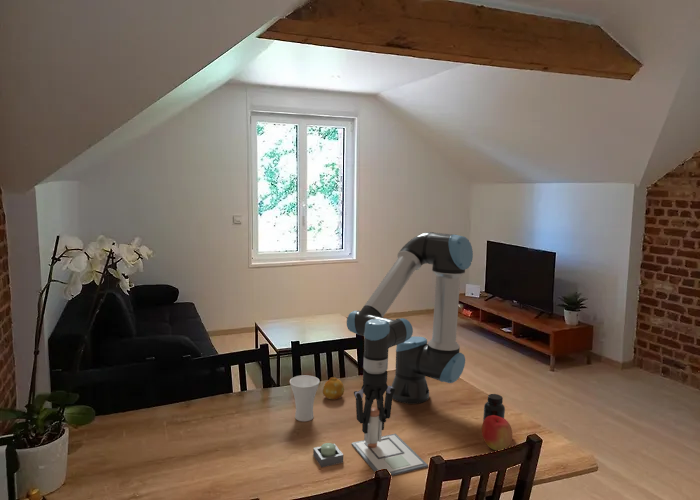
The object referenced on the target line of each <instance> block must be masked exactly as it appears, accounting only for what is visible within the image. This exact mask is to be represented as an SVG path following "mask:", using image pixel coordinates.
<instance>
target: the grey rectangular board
mask: <svg viewBox="0 0 700 500" xmlns="http://www.w3.org/2000/svg"><path fill="white" fill-rule="evenodd" d="M350 444H351V446H352V447H353V448H354V449H355V451H356V452H357V453H358V454H359V455H360V456H361V458H362V459H363V460H364V461H365V463H366V464H367V465H368V466H369V467H370V469H371V470H372V472H373V473H375V471H377V470H381V469H387V470H388V471H389V472H390V473H391V475H392V476H396V475H401V474H405V473H409V472H412V471H413V472H414V471H417V470H420V469H425V468H426V469H427V468H428V467H429V465H428V463H427V462H426V461H424V459H422V457H420V455H418V454H417V453H416V451H414V450H413V449H412V448H411V447H410V446H409V445H408V444H407V443H406V442H405V441H404V440H403V439H402V438H401V437H399V435H397V433H391V434H386V435H382V436H381V442H379V441H378V442H377V447H375V448H370V447H368V444H367V443H366V442H365V440H364V439H363V440H359V441H353V442H351V443H350ZM392 476H391V477H392Z"/></svg>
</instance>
